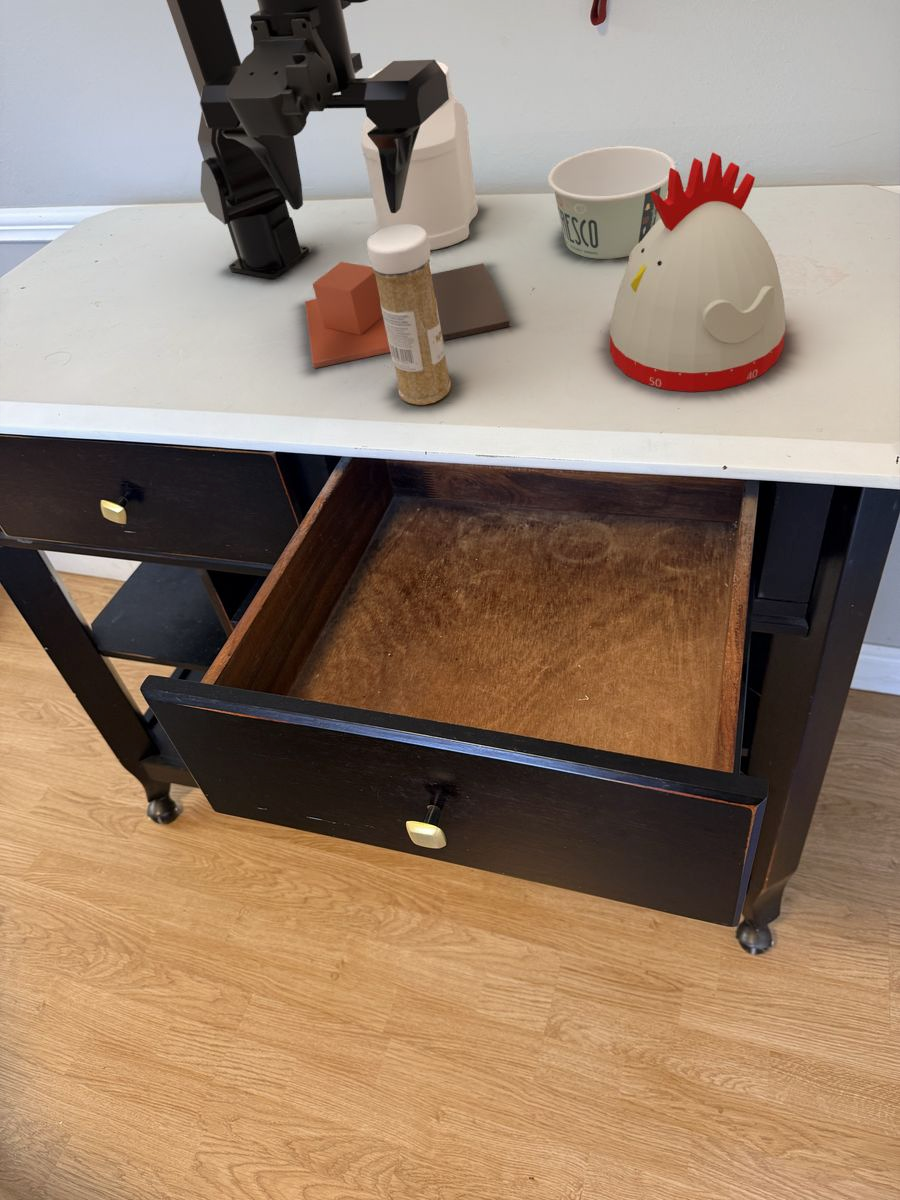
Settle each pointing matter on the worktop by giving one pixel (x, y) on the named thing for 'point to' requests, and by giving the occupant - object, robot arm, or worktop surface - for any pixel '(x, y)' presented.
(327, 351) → the board
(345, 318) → the terracotta block
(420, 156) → the jar
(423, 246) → the sprinkles bottle
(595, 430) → the worktop surface
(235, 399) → the worktop surface
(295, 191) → the robot arm
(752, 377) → the kitchen timer
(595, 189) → the food container
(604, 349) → the worktop surface
